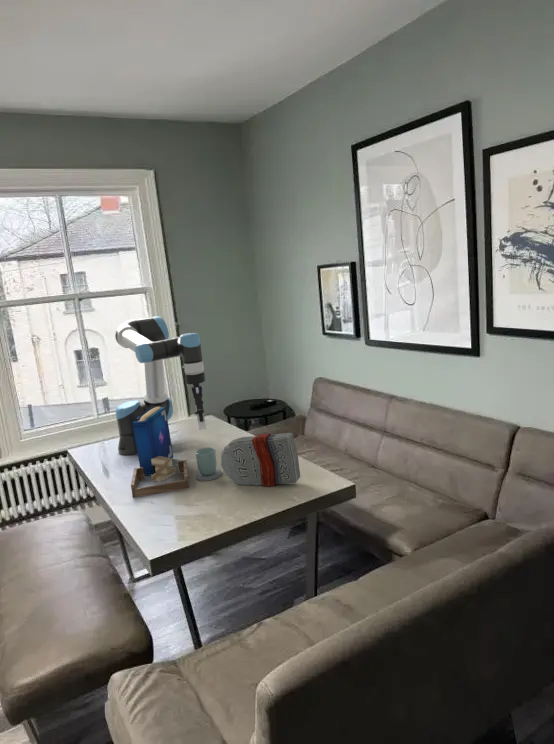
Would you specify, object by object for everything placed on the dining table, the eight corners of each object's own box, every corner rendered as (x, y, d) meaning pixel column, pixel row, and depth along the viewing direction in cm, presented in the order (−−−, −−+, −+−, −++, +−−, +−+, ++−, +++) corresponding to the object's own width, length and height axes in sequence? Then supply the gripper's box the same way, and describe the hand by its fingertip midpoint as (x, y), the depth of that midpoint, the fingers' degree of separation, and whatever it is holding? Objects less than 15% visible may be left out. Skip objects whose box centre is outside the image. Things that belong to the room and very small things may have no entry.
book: (154, 477, 231) (145, 419, 227) (138, 477, 233) (129, 420, 228) (174, 458, 252) (166, 405, 247) (159, 458, 254) (151, 405, 249)
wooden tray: (135, 479, 230) (134, 468, 229) (187, 471, 234) (186, 459, 233) (132, 497, 212) (130, 485, 211) (189, 487, 215) (187, 475, 214)
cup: (211, 478, 221) (208, 454, 219) (195, 476, 224) (191, 453, 222) (221, 470, 228) (218, 447, 226) (205, 469, 231) (202, 446, 229)
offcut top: (164, 468, 225) (163, 462, 225) (152, 465, 231) (151, 459, 230) (172, 464, 228) (171, 458, 228) (160, 461, 234) (159, 455, 233)
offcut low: (152, 481, 228) (151, 475, 227) (168, 472, 236) (167, 466, 236) (160, 482, 225) (159, 476, 225) (176, 473, 234) (175, 467, 233)
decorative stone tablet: (294, 430, 206) (221, 437, 217) (288, 435, 200) (214, 442, 211) (303, 479, 209) (231, 483, 220) (298, 486, 203) (225, 490, 214)
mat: (194, 473, 230) (194, 471, 230) (221, 468, 232) (221, 467, 232) (195, 482, 220) (195, 481, 220) (223, 478, 222) (223, 476, 221)
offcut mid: (156, 475, 226) (155, 469, 225) (156, 468, 235) (155, 462, 234) (167, 474, 227) (166, 467, 226) (166, 466, 235) (165, 460, 235)
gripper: (184, 368, 229) (191, 418, 233) (185, 379, 205) (193, 434, 209) (202, 366, 231) (209, 415, 235) (206, 377, 206) (213, 431, 210)
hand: (201, 424), depth 222 cm, fingers open, 13 cm apart
